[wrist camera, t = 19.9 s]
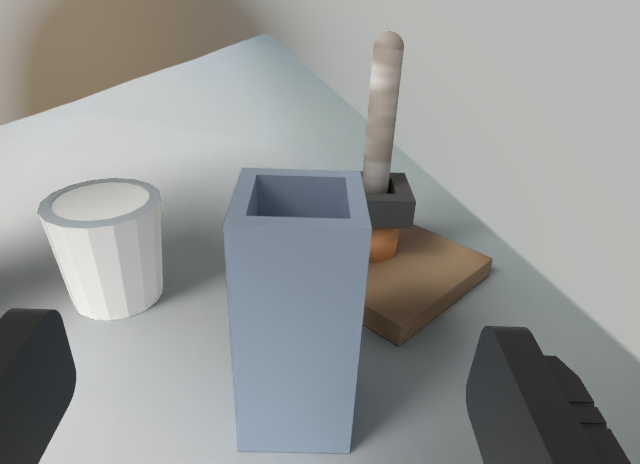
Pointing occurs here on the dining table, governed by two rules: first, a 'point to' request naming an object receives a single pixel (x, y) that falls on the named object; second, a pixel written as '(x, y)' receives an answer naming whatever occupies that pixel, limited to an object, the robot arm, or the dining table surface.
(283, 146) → the dining table surface
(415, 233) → the post stand
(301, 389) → the sleeve
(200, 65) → the dining table surface
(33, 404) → the robot arm
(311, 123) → the dining table surface
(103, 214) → the white cup
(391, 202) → the ring
